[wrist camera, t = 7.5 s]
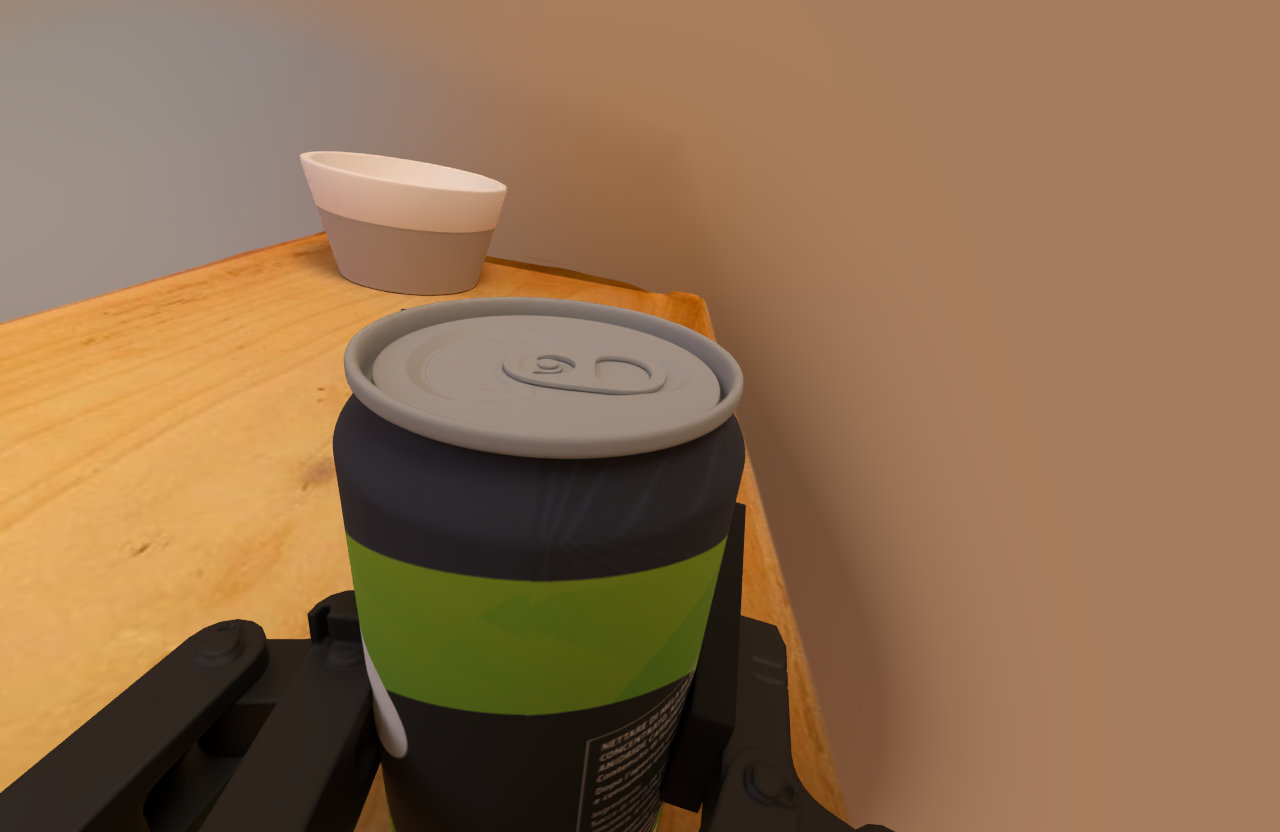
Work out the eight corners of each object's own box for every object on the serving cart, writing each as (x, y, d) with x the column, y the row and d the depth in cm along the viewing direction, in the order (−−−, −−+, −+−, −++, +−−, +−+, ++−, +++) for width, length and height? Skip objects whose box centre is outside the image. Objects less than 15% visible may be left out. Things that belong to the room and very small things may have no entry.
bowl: (457, 317, 50) (461, 197, 46) (263, 273, 51) (246, 150, 46) (523, 275, 68) (531, 185, 63) (377, 243, 68) (374, 150, 63)
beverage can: (634, 751, 18) (716, 310, 11) (652, 1025, 12) (832, 468, 6) (441, 751, 17) (407, 279, 11) (366, 1042, 12) (196, 426, 5)
